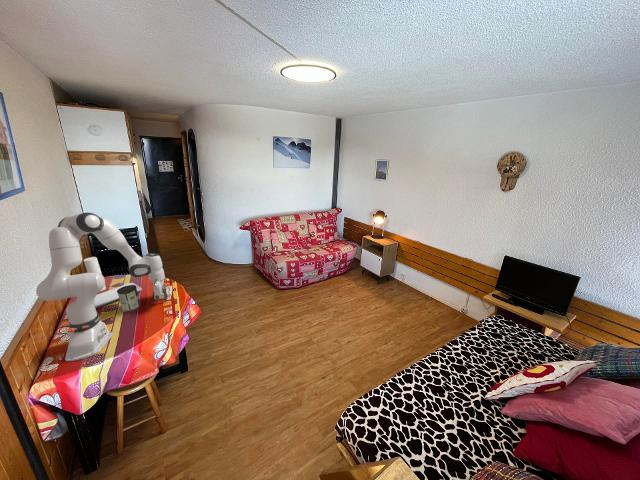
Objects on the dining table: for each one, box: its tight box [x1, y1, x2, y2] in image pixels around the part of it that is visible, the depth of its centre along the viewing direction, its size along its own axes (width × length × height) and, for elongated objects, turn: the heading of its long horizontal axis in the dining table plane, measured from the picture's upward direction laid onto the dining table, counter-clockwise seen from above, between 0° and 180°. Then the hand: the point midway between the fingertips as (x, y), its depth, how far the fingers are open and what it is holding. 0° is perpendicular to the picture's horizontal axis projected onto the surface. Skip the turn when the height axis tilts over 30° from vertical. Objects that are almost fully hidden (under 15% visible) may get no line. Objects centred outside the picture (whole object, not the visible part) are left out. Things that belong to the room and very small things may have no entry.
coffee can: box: [117, 285, 142, 313], centre depth 169 cm, size 10×10×14 cm
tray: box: [94, 282, 142, 309], centre depth 182 cm, size 17×31×4 cm, turn 145°
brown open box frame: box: [154, 283, 168, 304], centre depth 176 cm, size 6×6×10 cm
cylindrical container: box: [83, 256, 107, 293], centre depth 189 cm, size 7×7×25 cm
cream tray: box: [153, 285, 173, 301], centre depth 186 cm, size 12×10×3 cm
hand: (161, 294), depth 176 cm, fingers closed on brown open box frame, 5 cm apart
